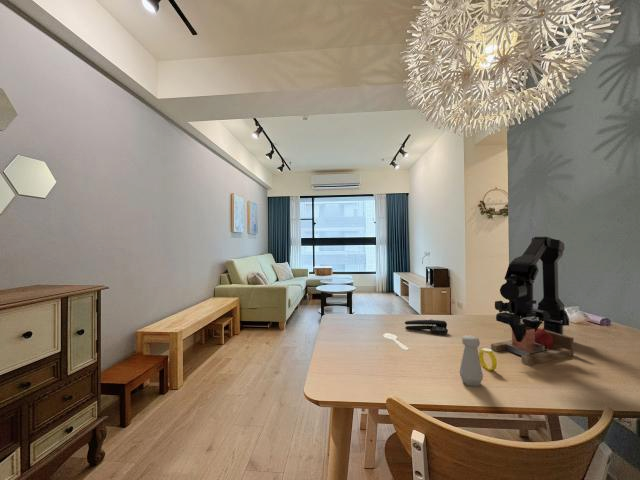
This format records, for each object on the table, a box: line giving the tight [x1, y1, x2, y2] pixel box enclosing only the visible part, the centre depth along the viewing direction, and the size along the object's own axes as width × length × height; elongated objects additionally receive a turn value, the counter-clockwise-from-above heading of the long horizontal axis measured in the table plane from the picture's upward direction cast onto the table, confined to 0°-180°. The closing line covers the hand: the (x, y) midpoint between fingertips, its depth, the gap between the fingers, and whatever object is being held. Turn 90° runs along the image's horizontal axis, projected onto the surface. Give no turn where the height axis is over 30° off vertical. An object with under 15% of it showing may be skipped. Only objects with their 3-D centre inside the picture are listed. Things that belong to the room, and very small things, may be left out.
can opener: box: [404, 318, 449, 336], centre depth 120 cm, size 18×7×6 cm, turn 66°
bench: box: [490, 327, 575, 366], centre depth 97 cm, size 22×13×6 cm, turn 108°
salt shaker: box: [458, 334, 484, 388], centre depth 77 cm, size 6×6×13 cm
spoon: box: [383, 332, 410, 351], centre depth 109 cm, size 5×18×1 cm, turn 11°
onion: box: [535, 327, 553, 350], centre depth 99 cm, size 6×6×8 cm
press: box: [505, 326, 546, 356], centre depth 96 cm, size 7×8×9 cm
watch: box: [478, 347, 498, 372], centre depth 85 cm, size 6×3×6 cm, turn 9°
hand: (523, 340), depth 96 cm, fingers closed on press, 4 cm apart
